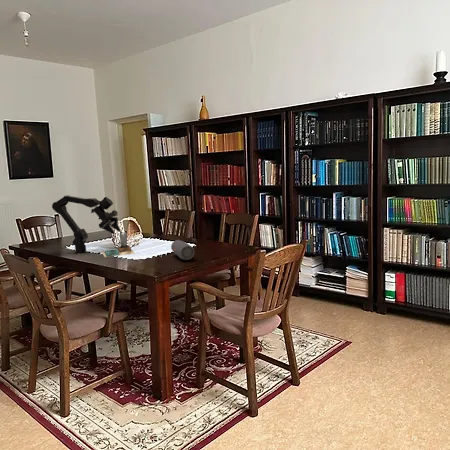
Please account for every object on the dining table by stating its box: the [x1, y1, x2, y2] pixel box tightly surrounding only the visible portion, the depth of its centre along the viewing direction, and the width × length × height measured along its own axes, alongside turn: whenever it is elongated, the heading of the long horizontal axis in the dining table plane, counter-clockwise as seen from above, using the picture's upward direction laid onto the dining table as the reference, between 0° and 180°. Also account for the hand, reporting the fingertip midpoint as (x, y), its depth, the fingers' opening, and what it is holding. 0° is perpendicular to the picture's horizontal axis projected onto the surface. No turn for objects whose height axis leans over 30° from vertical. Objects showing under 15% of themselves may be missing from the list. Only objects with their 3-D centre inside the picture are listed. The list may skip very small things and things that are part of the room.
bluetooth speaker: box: [170, 239, 195, 261], centre depth 258 cm, size 23×9×10 cm, turn 21°
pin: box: [119, 231, 129, 248], centre depth 284 cm, size 4×4×12 cm
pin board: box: [101, 245, 136, 258], centre depth 279 cm, size 19×18×4 cm
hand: (116, 232), depth 286 cm, fingers open, 9 cm apart
